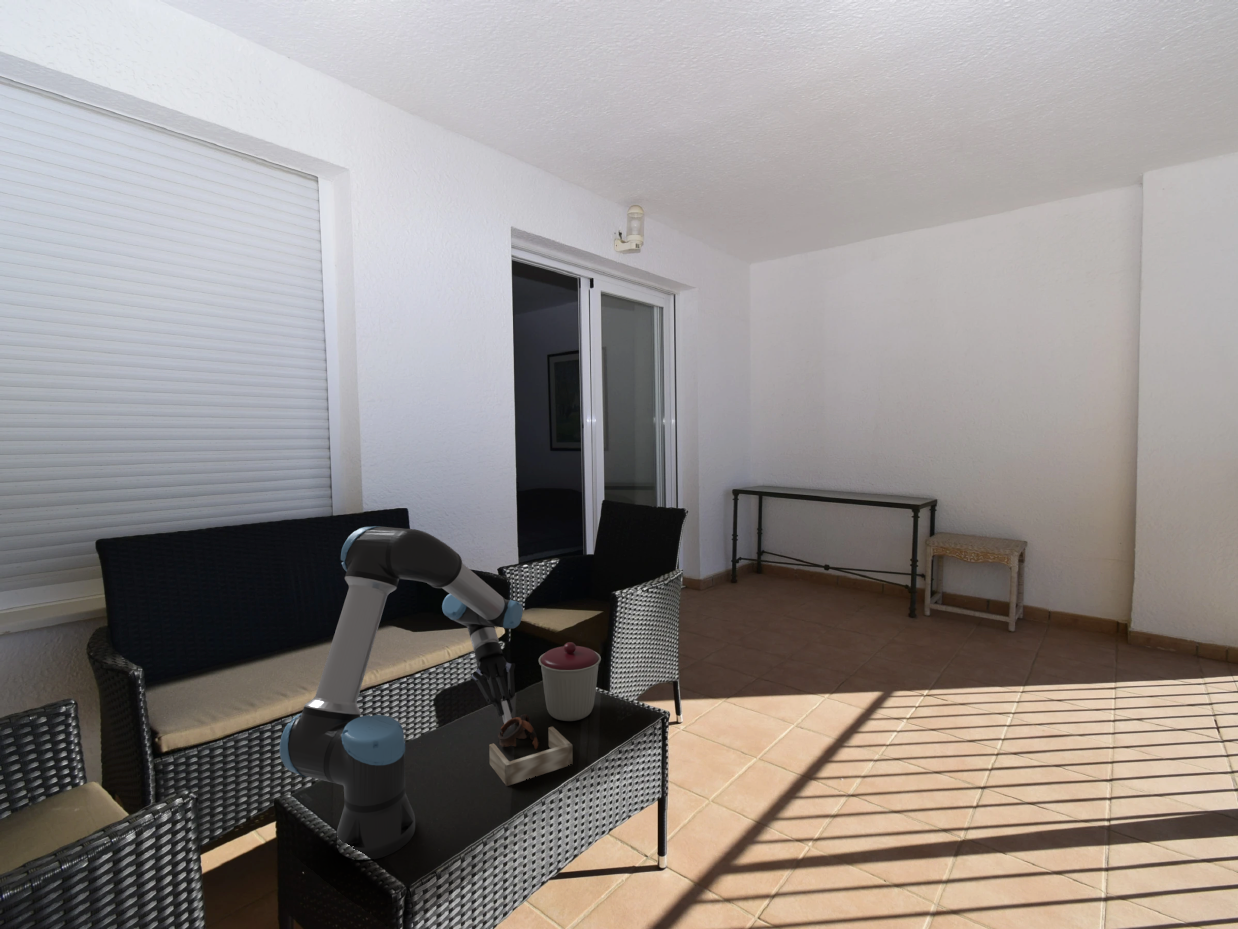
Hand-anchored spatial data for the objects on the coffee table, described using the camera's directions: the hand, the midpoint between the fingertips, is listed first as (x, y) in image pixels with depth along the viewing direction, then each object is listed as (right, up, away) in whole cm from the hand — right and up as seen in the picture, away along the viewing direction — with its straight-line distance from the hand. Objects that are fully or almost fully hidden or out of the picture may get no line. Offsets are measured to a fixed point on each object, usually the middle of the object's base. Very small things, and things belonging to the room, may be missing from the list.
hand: (509, 726), depth 168 cm
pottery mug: (+3, -4, -4) cm, 6 cm away
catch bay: (+8, -4, -14) cm, 16 cm away
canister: (+15, -2, +14) cm, 21 cm away
